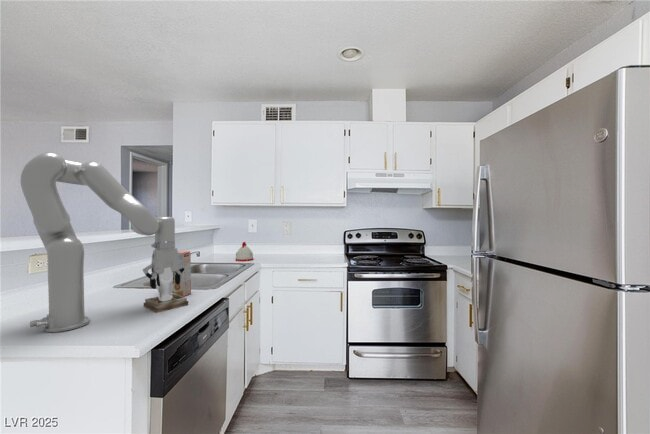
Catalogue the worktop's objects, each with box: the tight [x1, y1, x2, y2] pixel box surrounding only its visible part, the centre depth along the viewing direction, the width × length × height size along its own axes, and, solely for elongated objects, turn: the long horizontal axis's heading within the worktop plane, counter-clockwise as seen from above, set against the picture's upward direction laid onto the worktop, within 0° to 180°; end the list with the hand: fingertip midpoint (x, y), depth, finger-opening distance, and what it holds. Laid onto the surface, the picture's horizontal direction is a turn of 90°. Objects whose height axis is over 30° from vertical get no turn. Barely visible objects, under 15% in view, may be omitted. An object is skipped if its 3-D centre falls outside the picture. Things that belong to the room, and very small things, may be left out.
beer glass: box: [155, 267, 174, 303], centre depth 129 cm, size 7×7×15 cm
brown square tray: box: [143, 293, 189, 314], centre depth 129 cm, size 13×13×3 cm
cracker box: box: [172, 250, 192, 297], centre depth 146 cm, size 14×6×21 cm, turn 72°
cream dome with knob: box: [235, 241, 254, 262], centre depth 249 cm, size 14×14×15 cm
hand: (165, 285), depth 129 cm, fingers open, 9 cm apart
